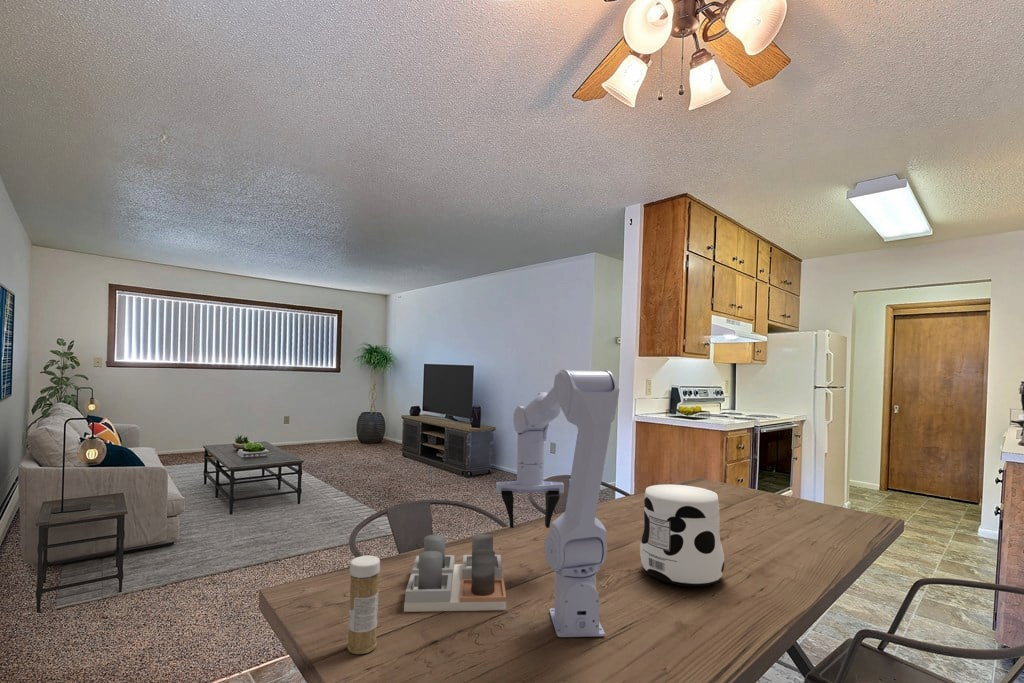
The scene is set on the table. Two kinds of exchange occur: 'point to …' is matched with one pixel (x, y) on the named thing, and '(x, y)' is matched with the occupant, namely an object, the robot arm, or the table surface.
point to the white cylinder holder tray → (450, 580)
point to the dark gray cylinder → (483, 572)
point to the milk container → (682, 535)
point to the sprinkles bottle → (363, 604)
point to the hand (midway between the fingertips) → (529, 526)
